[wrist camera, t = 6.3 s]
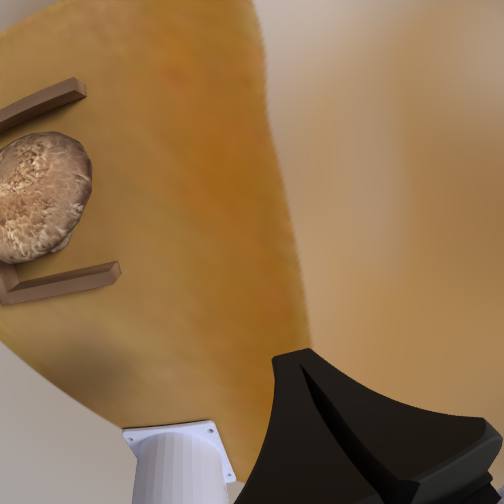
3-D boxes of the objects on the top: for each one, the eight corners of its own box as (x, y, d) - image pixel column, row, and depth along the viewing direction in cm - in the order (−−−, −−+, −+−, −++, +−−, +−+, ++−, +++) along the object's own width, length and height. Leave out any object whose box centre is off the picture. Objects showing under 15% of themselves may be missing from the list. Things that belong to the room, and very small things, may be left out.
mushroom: (71, 307, 15) (-3, 273, 10) (0, 254, 17) (-59, 215, 11) (137, 188, 18) (96, 117, 12) (57, 160, 19) (15, 104, 13)
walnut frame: (121, 273, 19) (113, 284, 17) (16, 294, 18) (2, 305, 16) (85, 84, 15) (73, 77, 13) (-19, 131, 14) (-36, 130, 12)
